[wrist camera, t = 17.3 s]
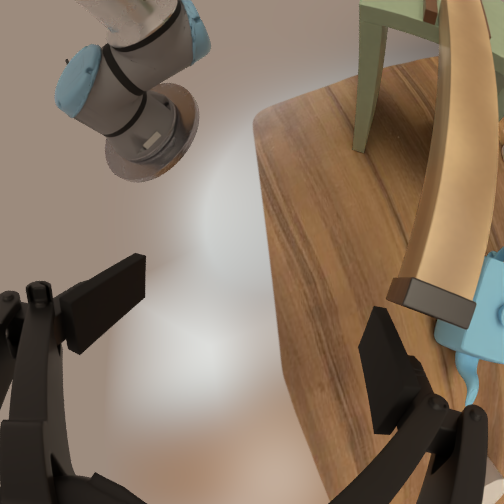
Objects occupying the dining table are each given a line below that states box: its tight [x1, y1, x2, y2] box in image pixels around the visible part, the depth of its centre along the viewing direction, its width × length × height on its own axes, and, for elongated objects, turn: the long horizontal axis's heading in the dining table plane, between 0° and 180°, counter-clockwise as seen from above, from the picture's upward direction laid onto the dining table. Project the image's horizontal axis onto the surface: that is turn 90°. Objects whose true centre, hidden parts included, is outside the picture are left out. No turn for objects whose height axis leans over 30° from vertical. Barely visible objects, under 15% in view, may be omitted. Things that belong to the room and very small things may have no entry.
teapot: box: [434, 247, 504, 406], centre depth 30 cm, size 18×16×14 cm
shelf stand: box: [352, 0, 504, 153], centre depth 27 cm, size 16×12×32 cm
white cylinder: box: [482, 456, 504, 504], centre depth 26 cm, size 8×8×12 cm
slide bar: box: [386, 0, 499, 330], centre depth 11 cm, size 3×23×4 cm, turn 159°
